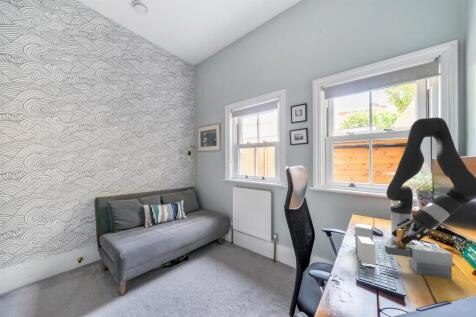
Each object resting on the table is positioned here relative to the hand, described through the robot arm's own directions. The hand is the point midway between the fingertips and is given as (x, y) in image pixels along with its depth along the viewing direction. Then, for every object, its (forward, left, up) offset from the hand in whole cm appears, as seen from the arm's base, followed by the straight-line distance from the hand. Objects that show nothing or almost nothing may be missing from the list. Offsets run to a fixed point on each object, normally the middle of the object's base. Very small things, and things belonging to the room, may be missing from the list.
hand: (397, 238), depth 81 cm
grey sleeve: (0, +10, -13) cm, 16 cm away
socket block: (0, -12, -13) cm, 18 cm away
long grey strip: (0, +6, -7) cm, 9 cm away
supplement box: (-15, -9, -13) cm, 22 cm away
